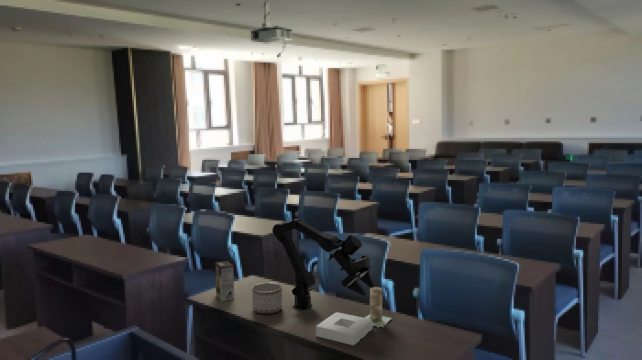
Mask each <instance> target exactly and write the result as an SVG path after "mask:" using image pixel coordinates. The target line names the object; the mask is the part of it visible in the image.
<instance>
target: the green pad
mask: <svg viewBox="0 0 642 360" xmlns="http://www.w3.org/2000/svg"><path fill="white" fill-rule="evenodd" d="M364 318H367V319H370V313H369V314H368V315H366V316H365V317H364ZM391 319H392V320H393V318H392V317H388V316H384V315H382V321H381V322H372V327H374V326H377V327H376V328H379V327H383V326H384V325H385V326H387V325H388V324H389V323H390V322H391V321H392V320H391ZM390 320H391V321H390ZM389 321H390V322H389ZM388 322H389V323H388ZM387 323H388V324H387ZM385 326H384V327H385ZM384 327H383V328H384Z"/></svg>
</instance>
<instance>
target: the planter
mask: <svg viewBox="0 0 642 360" xmlns="http://www.w3.org/2000/svg"><path fill="white" fill-rule="evenodd" d="M282 288H283V286H282V285H281V284H279V283H277V282H271V281H269V282H260V283H257V284H254V285H253V286H252V289H251V291H252V292H251V293H252V310H253V311H254V312H255V313H259V314H273V313H274V314H275V313H277V312H279V311H280V310H282V308H283V289H282Z"/></svg>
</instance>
